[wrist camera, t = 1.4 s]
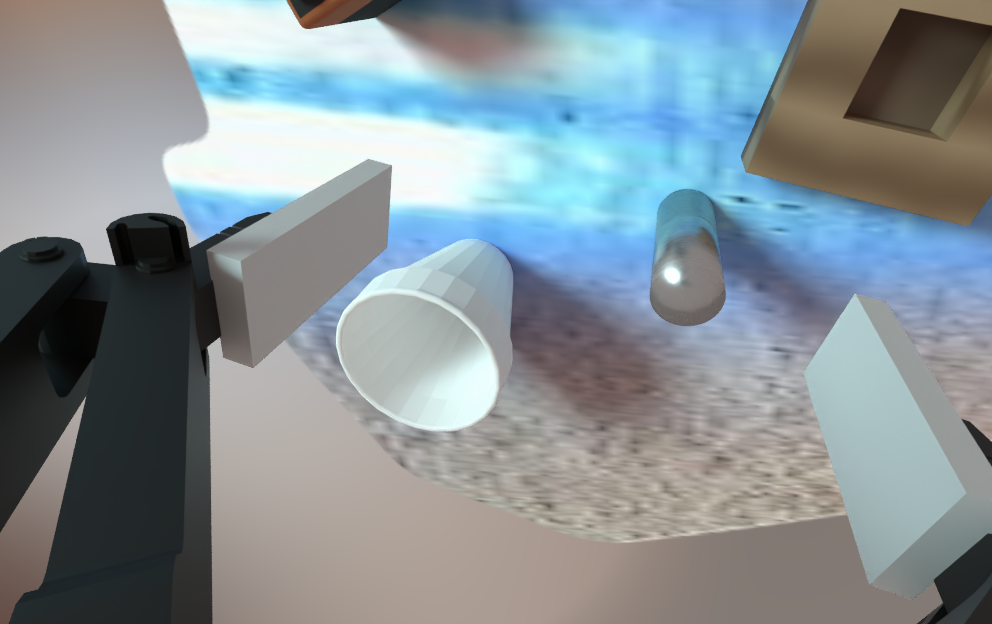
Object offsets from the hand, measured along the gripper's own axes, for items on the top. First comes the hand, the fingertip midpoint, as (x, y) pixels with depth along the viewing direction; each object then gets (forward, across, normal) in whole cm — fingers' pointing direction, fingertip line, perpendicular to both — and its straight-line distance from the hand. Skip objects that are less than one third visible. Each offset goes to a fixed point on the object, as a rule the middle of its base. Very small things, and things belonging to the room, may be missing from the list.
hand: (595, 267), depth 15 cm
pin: (+26, +5, -7) cm, 27 cm away
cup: (+26, -10, -17) cm, 33 cm away
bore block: (+26, +14, +7) cm, 30 cm away
